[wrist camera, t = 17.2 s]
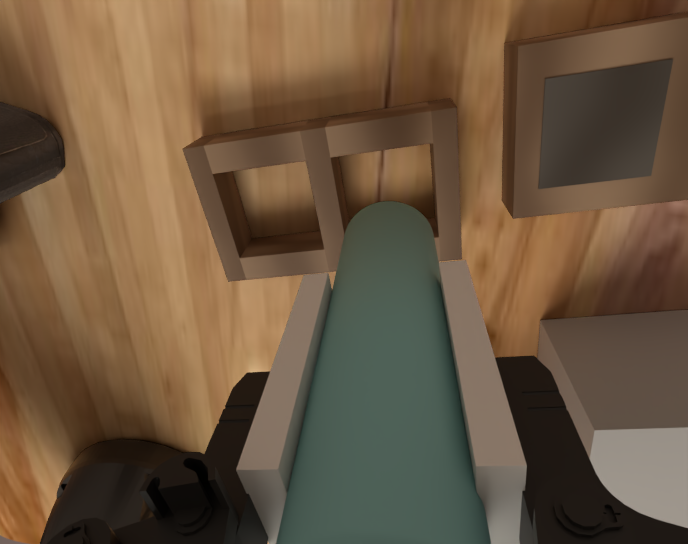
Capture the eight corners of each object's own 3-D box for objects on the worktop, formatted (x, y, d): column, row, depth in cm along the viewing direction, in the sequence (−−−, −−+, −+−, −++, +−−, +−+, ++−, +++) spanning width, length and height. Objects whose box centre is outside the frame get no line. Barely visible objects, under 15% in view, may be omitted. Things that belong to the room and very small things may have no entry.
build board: (241, 260, 27) (228, 281, 25) (202, 136, 23) (182, 148, 21) (455, 238, 25) (461, 259, 23) (450, 98, 21) (456, 107, 19)
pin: (351, 285, 18) (295, 642, 8) (336, 207, 16) (241, 532, 6) (436, 277, 17) (500, 653, 7) (431, 195, 16) (504, 535, 5)
